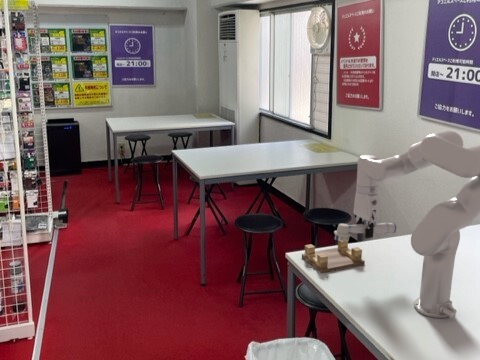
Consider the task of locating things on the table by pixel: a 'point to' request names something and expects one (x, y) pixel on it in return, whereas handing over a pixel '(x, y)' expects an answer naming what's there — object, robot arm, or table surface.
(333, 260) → the rack
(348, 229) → the electric toothbrush handle
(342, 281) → the table surface
